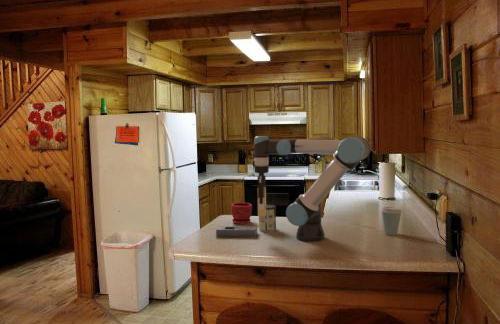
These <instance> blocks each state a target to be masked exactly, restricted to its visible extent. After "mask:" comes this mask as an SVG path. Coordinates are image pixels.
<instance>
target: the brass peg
mask: <svg viewBox="0 0 500 324" xmlns="http://www.w3.org/2000/svg"><path fill="white" fill-rule="evenodd" d="M266 187H267V186H265V187H264V210H259V198H257V217H259V216H266V205H267V188H266Z"/></svg>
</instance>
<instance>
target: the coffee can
mask: <svg viewBox="0 0 500 324" xmlns="http://www.w3.org/2000/svg"><path fill="white" fill-rule="evenodd" d="M276 207H277V206H276V205H274V204H266V216H258V231H259V232H264V233H269V232H270V233H271V232H275V231H277V215H276V213H277V211H276Z"/></svg>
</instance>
